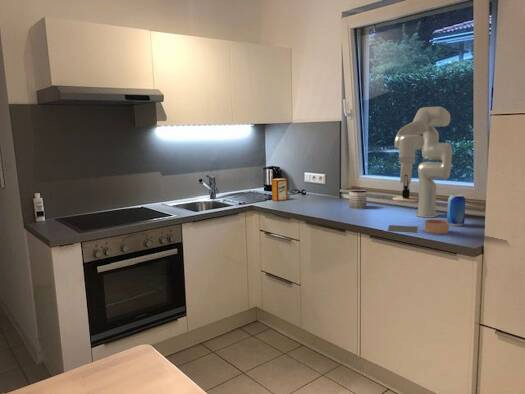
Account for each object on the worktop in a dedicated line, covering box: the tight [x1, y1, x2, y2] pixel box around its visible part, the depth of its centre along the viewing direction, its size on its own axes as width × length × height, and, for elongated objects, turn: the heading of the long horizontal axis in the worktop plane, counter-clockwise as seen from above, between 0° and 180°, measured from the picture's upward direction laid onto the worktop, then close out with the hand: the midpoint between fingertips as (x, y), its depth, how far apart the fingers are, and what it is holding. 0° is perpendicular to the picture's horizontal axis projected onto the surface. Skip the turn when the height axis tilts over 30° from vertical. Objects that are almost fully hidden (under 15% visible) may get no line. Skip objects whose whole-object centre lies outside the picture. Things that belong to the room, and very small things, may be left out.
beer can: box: [446, 193, 466, 227], centre depth 228 cm, size 8×8×16 cm
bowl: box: [424, 218, 450, 235], centre depth 214 cm, size 11×11×5 cm
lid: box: [392, 195, 419, 203], centre depth 218 cm, size 12×12×6 cm
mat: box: [387, 224, 418, 234], centre depth 221 cm, size 14×14×1 cm
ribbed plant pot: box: [348, 189, 368, 210], centre depth 283 cm, size 11×11×12 cm
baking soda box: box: [271, 177, 288, 203], centre depth 318 cm, size 10×6×16 cm
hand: (405, 196), depth 218 cm, fingers closed on lid, 2 cm apart
